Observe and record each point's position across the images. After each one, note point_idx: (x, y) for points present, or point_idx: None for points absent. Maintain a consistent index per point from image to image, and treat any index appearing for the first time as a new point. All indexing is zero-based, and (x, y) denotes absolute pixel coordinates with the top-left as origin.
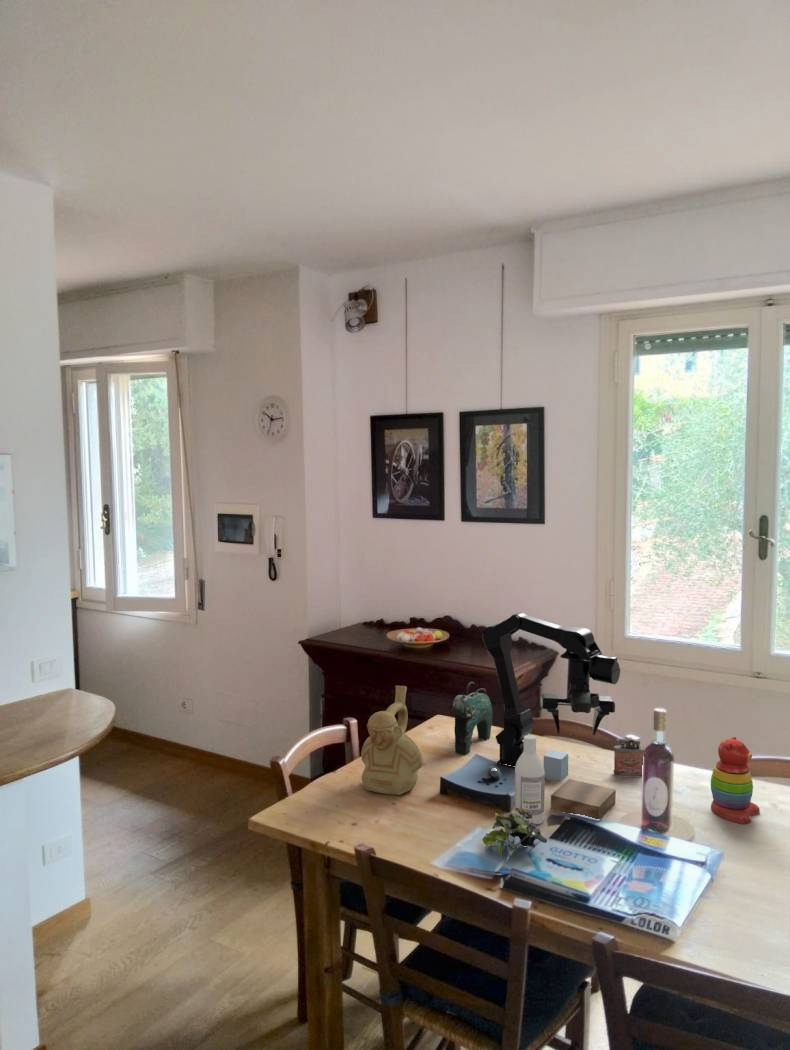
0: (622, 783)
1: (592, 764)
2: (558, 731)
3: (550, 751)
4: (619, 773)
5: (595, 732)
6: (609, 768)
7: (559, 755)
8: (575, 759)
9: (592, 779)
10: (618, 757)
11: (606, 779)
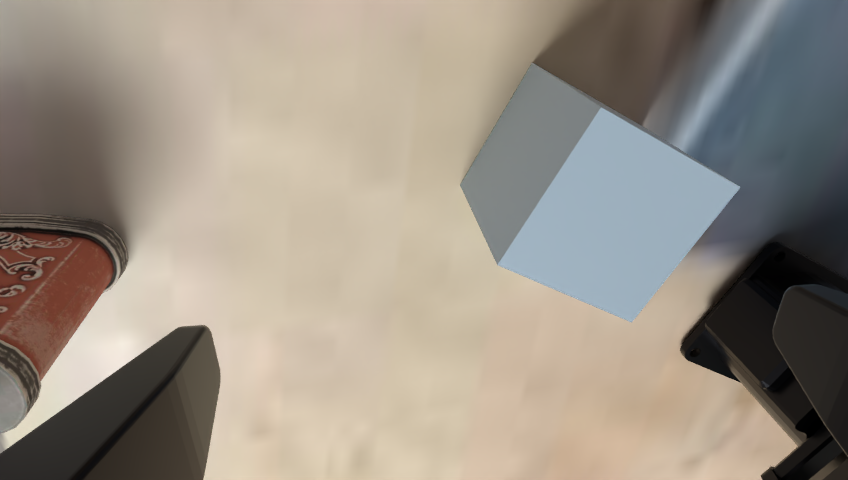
0: (36, 76)
1: (277, 374)
2: (835, 295)
3: (645, 291)
4: (68, 227)
5: (143, 352)
6: (161, 334)
7: (591, 210)
8: (379, 422)
9: (286, 129)
10: (15, 304)
11: (175, 143)
